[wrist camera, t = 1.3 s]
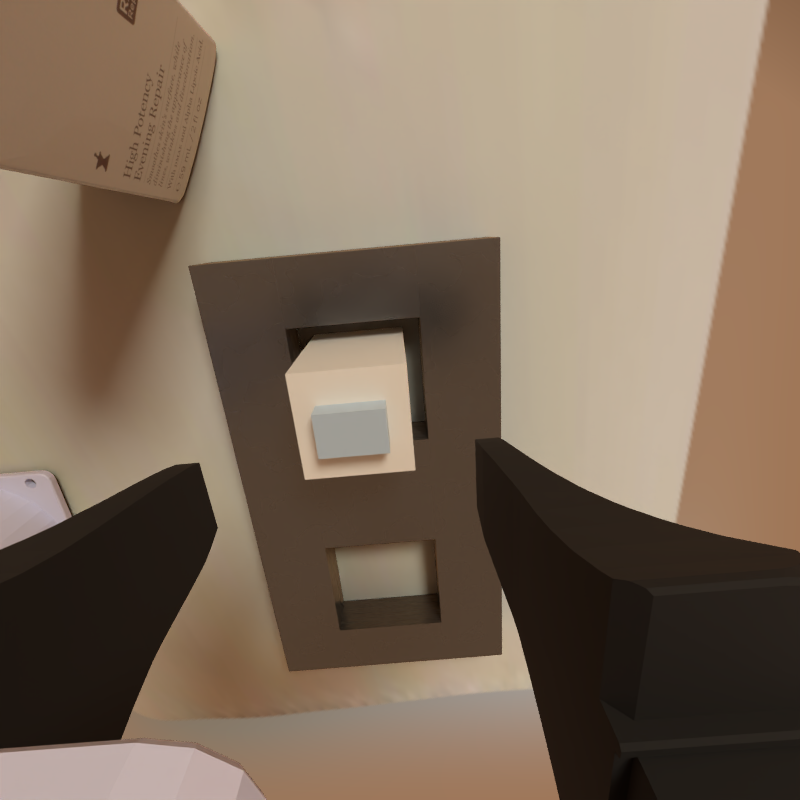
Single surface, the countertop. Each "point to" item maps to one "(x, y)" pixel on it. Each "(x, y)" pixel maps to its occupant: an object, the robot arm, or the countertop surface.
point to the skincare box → (104, 92)
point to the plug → (352, 404)
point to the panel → (373, 493)
